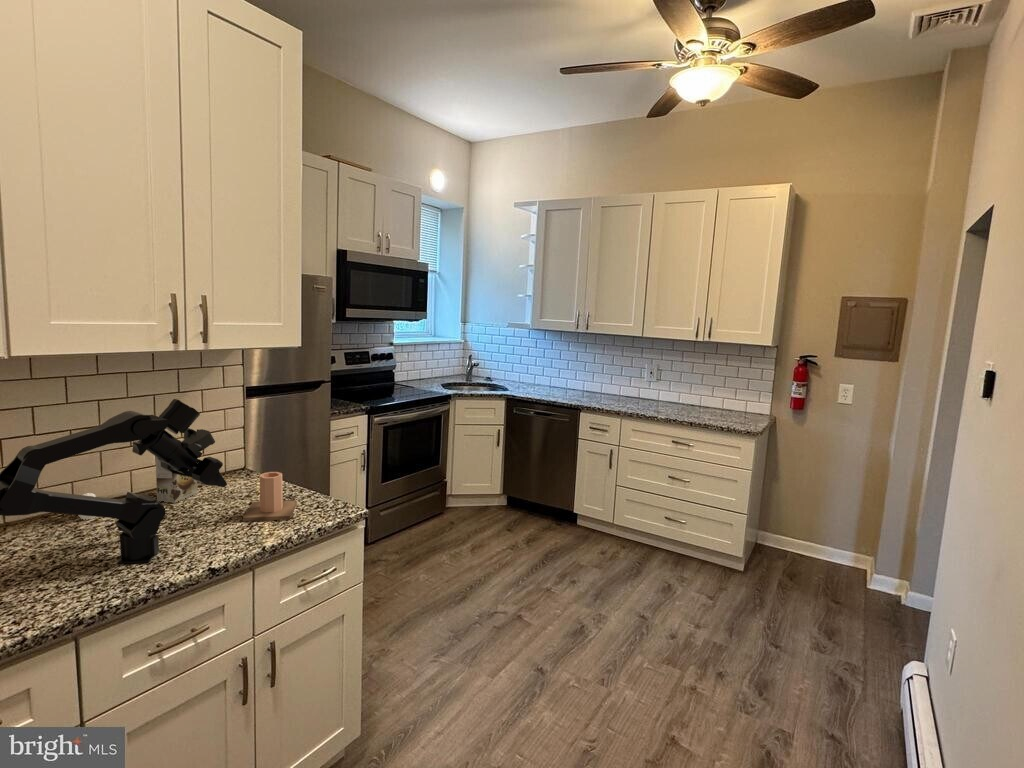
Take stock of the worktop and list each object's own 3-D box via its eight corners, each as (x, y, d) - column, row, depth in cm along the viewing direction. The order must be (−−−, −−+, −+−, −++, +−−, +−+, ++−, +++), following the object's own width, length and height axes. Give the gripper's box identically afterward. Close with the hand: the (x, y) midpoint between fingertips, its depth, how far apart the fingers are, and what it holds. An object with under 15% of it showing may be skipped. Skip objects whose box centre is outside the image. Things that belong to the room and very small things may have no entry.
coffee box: (175, 504, 161) (172, 450, 159) (156, 501, 163) (153, 448, 160) (198, 493, 170) (196, 442, 168) (180, 491, 171) (178, 440, 169)
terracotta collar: (259, 512, 155) (258, 478, 153) (262, 505, 160) (262, 472, 159) (280, 511, 156) (279, 477, 155) (283, 504, 161) (283, 471, 160)
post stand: (243, 521, 151) (242, 505, 150) (253, 505, 163) (253, 490, 162) (289, 519, 154) (289, 504, 153) (296, 504, 165) (296, 489, 165)
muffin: (95, 522, 146) (93, 497, 145) (69, 522, 146) (67, 497, 144) (108, 513, 153) (106, 489, 152) (83, 513, 152) (81, 489, 151)
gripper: (213, 427, 131) (257, 462, 142) (171, 415, 140) (215, 449, 151) (180, 467, 125) (228, 500, 136) (138, 452, 135) (186, 484, 146)
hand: (215, 481), depth 142 cm, fingers open, 9 cm apart
